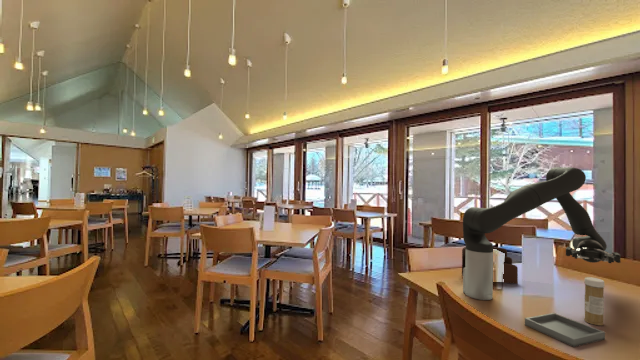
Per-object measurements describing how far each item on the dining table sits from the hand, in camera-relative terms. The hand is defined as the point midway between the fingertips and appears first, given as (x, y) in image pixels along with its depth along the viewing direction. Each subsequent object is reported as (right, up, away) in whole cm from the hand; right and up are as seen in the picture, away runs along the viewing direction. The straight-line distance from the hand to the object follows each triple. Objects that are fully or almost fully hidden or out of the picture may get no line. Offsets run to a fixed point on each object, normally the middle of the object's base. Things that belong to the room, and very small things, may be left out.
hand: (592, 257), depth 101 cm
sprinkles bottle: (-8, -18, -9) cm, 21 cm away
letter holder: (-16, -19, +33) cm, 42 cm away
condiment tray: (-22, -17, -15) cm, 32 cm away
